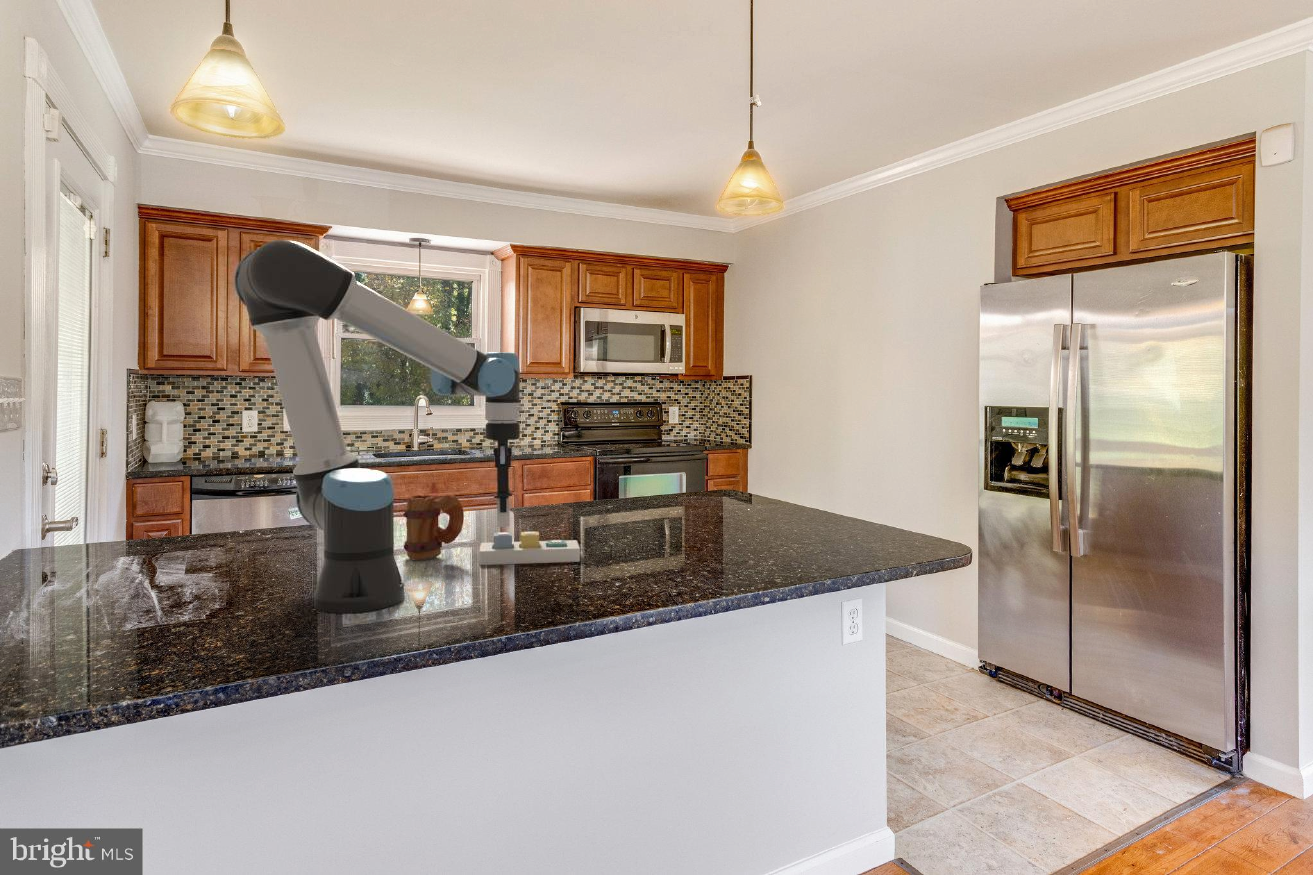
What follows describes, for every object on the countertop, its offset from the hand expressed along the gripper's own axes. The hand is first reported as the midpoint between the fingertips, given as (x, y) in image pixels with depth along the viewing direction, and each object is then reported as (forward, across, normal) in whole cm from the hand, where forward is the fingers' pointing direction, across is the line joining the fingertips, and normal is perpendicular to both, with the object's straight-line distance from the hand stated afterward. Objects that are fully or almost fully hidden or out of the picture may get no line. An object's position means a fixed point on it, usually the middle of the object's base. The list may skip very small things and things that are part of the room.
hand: (503, 525), depth 163 cm
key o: (+5, 0, 0) cm, 5 cm away
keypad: (+8, 0, -6) cm, 10 cm away
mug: (+8, +2, +16) cm, 18 cm away
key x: (+5, 0, -6) cm, 8 cm away
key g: (+7, 0, -12) cm, 14 cm away
